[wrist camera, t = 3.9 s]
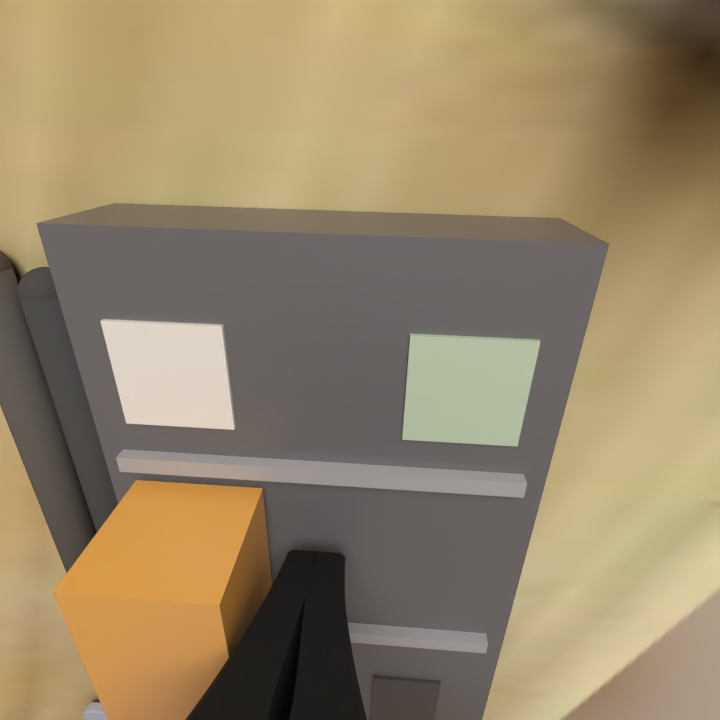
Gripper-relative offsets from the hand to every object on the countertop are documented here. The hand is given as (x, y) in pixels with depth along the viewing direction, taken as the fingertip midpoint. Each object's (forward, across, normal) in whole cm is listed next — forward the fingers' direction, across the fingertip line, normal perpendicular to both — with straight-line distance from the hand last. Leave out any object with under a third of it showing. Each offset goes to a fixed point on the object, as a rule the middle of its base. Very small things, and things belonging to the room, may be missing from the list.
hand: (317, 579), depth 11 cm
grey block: (+3, 0, 0) cm, 3 cm away
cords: (+3, +7, +1) cm, 8 cm away
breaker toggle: (+1, +3, 0) cm, 3 cm away
